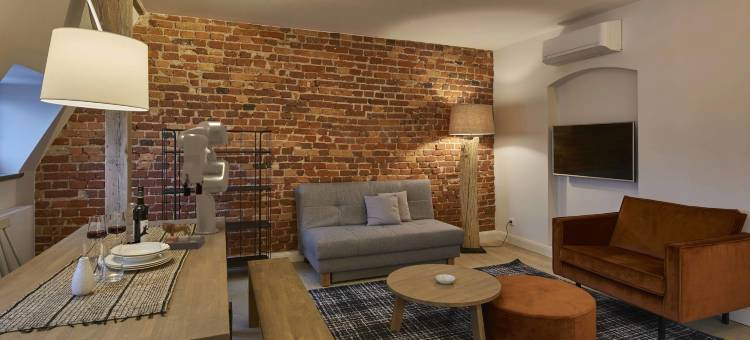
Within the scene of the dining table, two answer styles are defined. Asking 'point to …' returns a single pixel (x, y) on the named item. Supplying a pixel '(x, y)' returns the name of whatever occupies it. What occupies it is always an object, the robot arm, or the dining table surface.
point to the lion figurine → (175, 228)
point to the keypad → (185, 244)
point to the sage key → (195, 237)
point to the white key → (184, 238)
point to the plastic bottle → (129, 222)
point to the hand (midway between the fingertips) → (193, 195)
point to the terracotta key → (172, 238)
